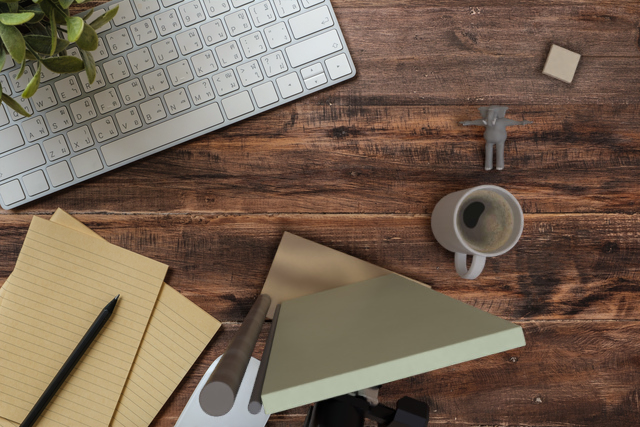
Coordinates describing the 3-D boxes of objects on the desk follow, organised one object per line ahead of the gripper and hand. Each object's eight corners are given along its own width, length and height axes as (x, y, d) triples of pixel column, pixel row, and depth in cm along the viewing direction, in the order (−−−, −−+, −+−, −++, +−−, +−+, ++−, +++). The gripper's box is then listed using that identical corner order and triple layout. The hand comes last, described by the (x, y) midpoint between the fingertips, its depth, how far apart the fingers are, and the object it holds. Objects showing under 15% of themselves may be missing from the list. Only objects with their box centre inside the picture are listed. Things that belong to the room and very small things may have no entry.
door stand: (400, 365, 67) (552, 559, 27) (252, 310, 67) (186, 427, 27) (429, 285, 68) (618, 360, 28) (283, 230, 67) (263, 226, 27)
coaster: (569, 83, 70) (571, 82, 70) (541, 73, 70) (543, 71, 69) (578, 56, 70) (581, 54, 70) (551, 45, 70) (553, 43, 70)
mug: (461, 178, 69) (488, 169, 59) (507, 226, 69) (542, 225, 59) (408, 231, 68) (427, 231, 58) (454, 279, 68) (481, 287, 58)
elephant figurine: (452, 172, 69) (451, 108, 66) (467, 162, 73) (467, 102, 70) (525, 176, 63) (527, 107, 60) (537, 165, 67) (539, 100, 65)
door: (397, 289, 66) (532, 365, 29) (279, 320, 66) (255, 440, 28) (393, 272, 67) (521, 325, 29) (275, 303, 66) (245, 399, 28)
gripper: (229, 459, 53) (270, 343, 65) (385, 515, 54) (398, 390, 66) (248, 418, 46) (290, 295, 58) (428, 483, 46) (434, 348, 58)
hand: (354, 335), depth 60 cm, fingers closed
